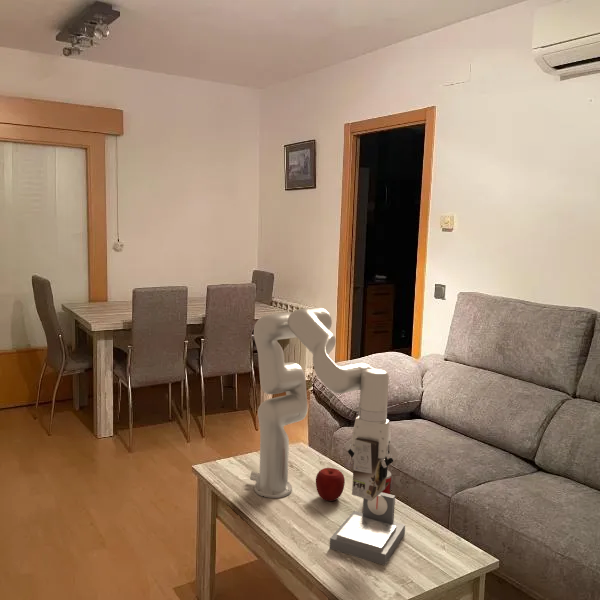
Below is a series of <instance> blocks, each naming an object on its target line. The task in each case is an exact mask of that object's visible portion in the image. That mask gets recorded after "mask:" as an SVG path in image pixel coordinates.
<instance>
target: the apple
mask: <svg viewBox="0 0 600 600" xmlns="http://www.w3.org/2000/svg"><path fill="white" fill-rule="evenodd" d="M345 481H346V479H345V476H344V473H342V472H341V471H340V469H337V468H334V467H325V468H322V469H320V470H318V472H317V474H316V477H315V487H316V488H315V489H316V491H317V493H318V495H319V498H321V499H322V500H323V501H328V502H333V501H336V500H338V499H339V498H340V497H341V496H342V493H343V491H344V489H345V485H346V482H345Z"/></svg>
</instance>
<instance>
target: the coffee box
mask: <svg viewBox="0 0 600 600" xmlns="http://www.w3.org/2000/svg"><path fill="white" fill-rule="evenodd" d="M378 448H379V442H377V441H373V440H368V439H361V438H356V439H355V450H354V461H353V463H354V467H352V470H353V473H352V487H351V489H352V490H351V495H353V496H355V497H358V498H362V499H363V498H364V499H367V500H370V501H372V500H373V499H374V498H375V497H377V496H378V495H379V494H380V493H381V492H382V491H383V490H384V489H385V482H386V478H385V479H384V480H383V481H380V480H379V479H380V467H381V466H382V464H381V462H380V459H378Z"/></svg>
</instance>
